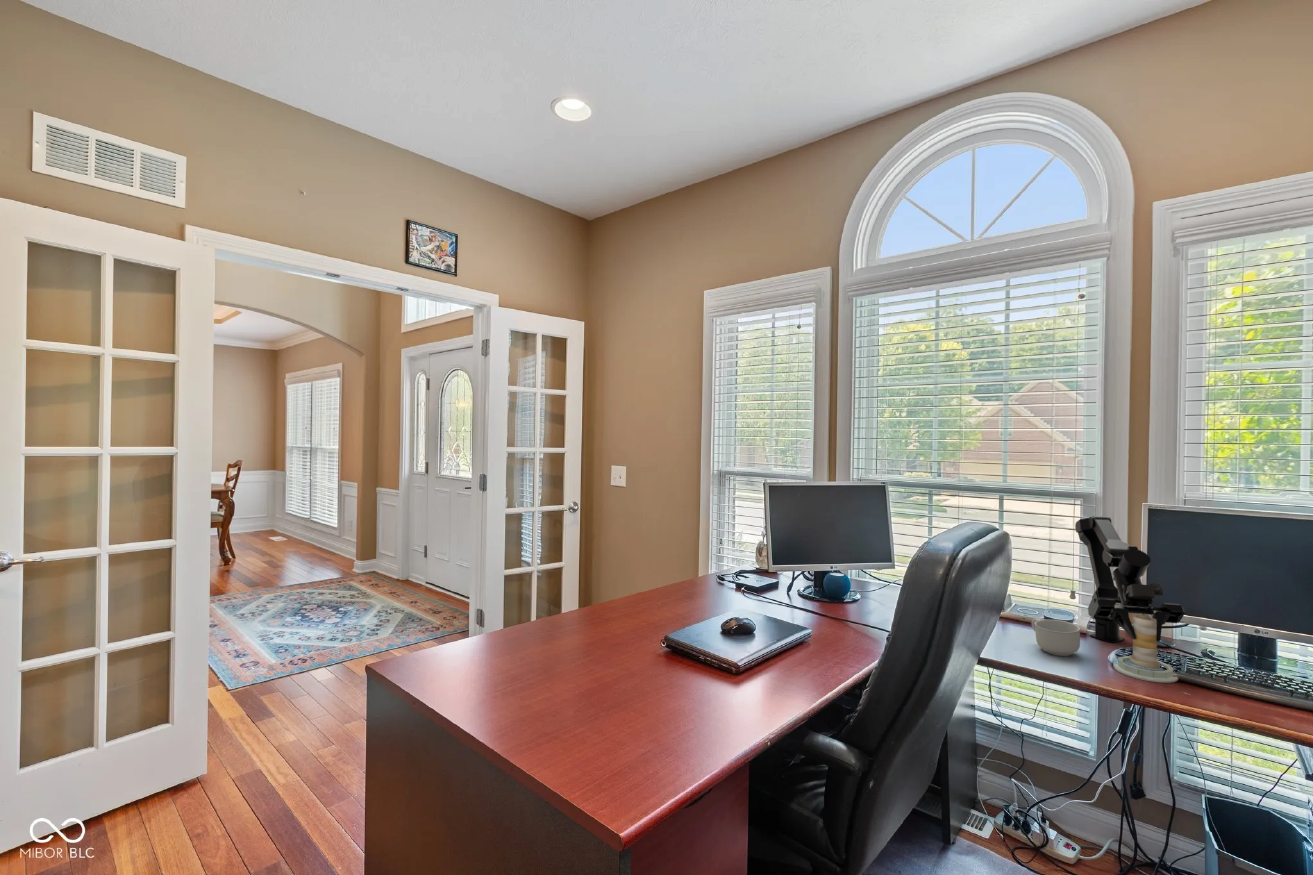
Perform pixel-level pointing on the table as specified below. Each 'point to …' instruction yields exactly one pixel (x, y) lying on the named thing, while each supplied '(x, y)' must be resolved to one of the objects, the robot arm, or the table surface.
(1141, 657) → the bead column
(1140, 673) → the ring dish
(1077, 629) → the teacup
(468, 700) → the table surface
